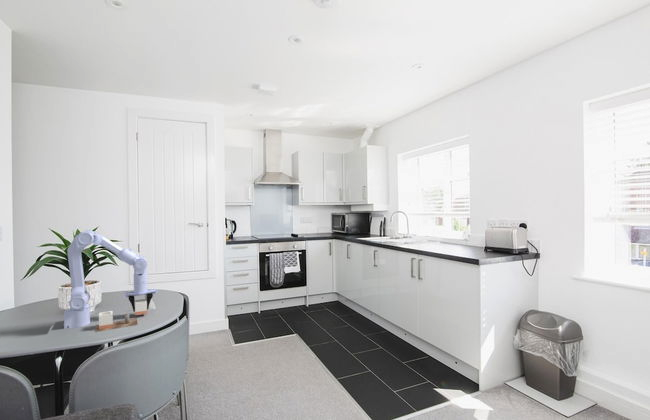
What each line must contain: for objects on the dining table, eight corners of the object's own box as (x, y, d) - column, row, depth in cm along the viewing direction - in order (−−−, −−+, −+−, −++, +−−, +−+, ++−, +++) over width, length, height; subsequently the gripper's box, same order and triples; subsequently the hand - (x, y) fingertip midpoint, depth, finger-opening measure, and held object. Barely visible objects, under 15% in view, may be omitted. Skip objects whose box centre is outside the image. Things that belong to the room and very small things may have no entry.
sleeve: (135, 315, 157) (135, 302, 157) (134, 312, 161) (134, 300, 161) (147, 313, 159) (146, 301, 159) (146, 310, 164) (146, 298, 164)
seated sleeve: (99, 329, 143) (98, 315, 142) (99, 325, 147) (99, 312, 147) (112, 327, 145) (112, 313, 145) (112, 323, 149) (112, 310, 149)
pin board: (94, 335, 140) (94, 322, 140) (95, 328, 148) (95, 316, 148) (137, 327, 148) (137, 315, 148) (136, 321, 157) (136, 309, 157)
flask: (149, 313, 168) (149, 293, 168) (137, 312, 170) (136, 293, 170) (159, 308, 175) (158, 290, 175) (147, 308, 177) (147, 289, 177)
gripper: (123, 286, 153) (123, 315, 153) (157, 282, 160) (158, 309, 161) (122, 283, 159) (123, 310, 159) (156, 279, 166) (156, 305, 167)
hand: (140, 310), depth 160 cm, fingers closed on sleeve, 5 cm apart
